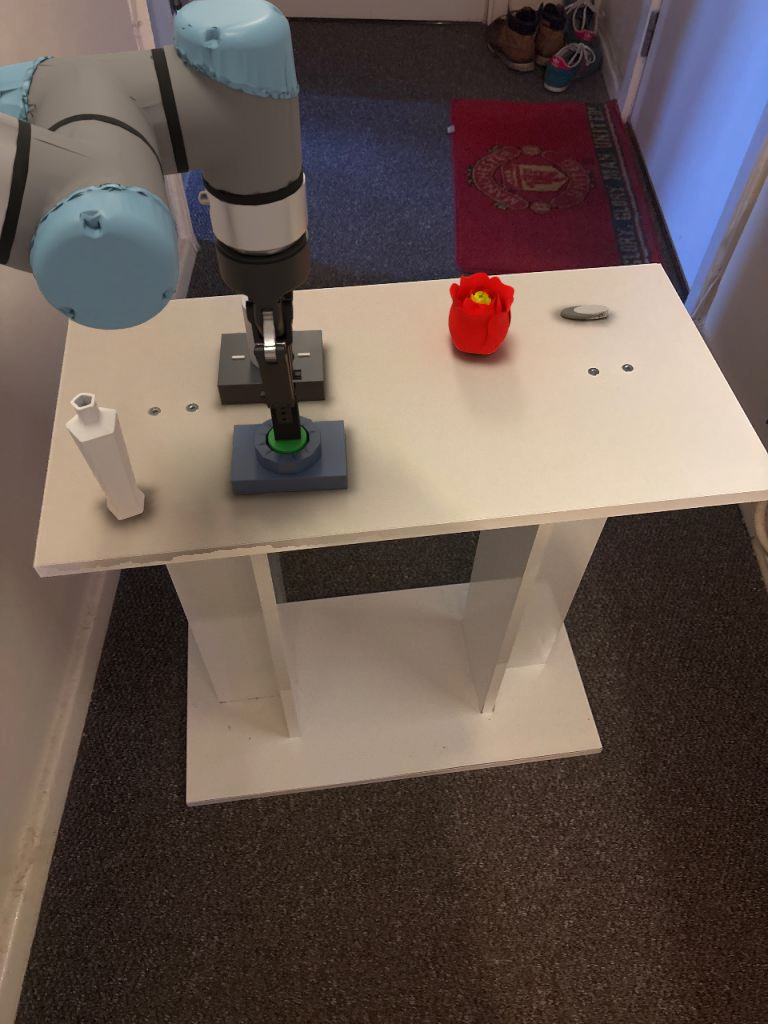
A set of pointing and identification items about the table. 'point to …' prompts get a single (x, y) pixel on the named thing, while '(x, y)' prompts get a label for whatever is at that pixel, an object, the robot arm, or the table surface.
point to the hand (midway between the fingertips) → (288, 434)
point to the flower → (480, 313)
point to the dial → (249, 332)
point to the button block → (289, 459)
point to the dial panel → (244, 378)
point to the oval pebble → (585, 312)
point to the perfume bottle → (106, 454)
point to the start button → (287, 444)
